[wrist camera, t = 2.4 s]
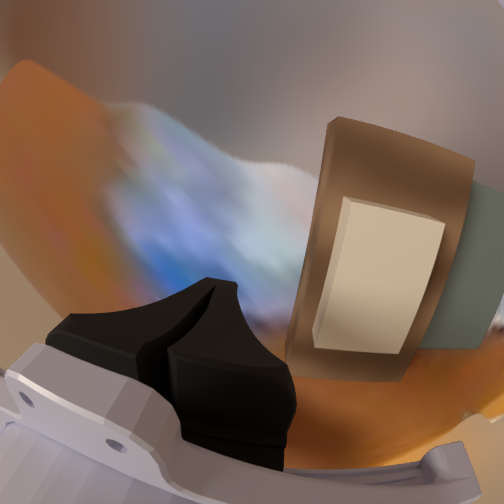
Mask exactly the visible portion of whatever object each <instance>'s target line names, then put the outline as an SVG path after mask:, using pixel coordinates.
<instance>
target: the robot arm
mask: <svg viewBox="0 0 504 504" xmlns="http://www.w3.org/2000/svg"><path fill="white" fill-rule="evenodd" d="M237 287H238V285H237V283H236V282H232V281H226V280H220V279H214V278H209V277H206V278H204V279H202V280H200V281H198V282H196V283H195V284H193V285H191V286H189V287H187V288H186V289H184V290H182V291H180V292H178V293H176V294H173V295H171V296H169V297H167V298H165V299H162V300H160V301H157V302H154V303H151V304H148V305H145V306H141V307H137V308H132V309H128V310H123V311H117V312H109V313H96V314H73V313H71V314H70V315H68V316H67V317H66V318H65V319H64V320H63V321H62V322H61V323H60V324H58V325H57V326H56V327H55V328H54V329H53V330H52V331H51V332H50V333H49V334H48V336H47V338H46V344H45V345H43V344H38V343H34V344H33V345H32V346H31V347H30V348H29V349H28V350H27V351H26V352H25V353H24V354H23V355H22V356H21V357H20V358H19V359H18V360H17V361H16V362H15V363H14V364H13V365H12V366H11V367H10V368H9V369H8V370H7V371H5V370H3V369H2V368H0V504H472V503H473V502H474V501H476V500H477V499H479V498H480V497H481V496H482V492H481V489H480V486H479V483H478V481H477V478H476V475H475V472H474V470H473V467H472V464H471V462H470V459H469V457H468V454H467V452H466V449H465V447H464V445H463V443H462V441H457V442H453V443H449V444H444V445H440V446H437V447H434V448H433V449H431V450H429V451H428V452H427V453H426V454H425V455H424V456H423V457H422V459H421V460H420V461H416V462H410V463H404V464H398V465H390V466H381V467H370V468H357V469H291V468H284V448H285V447H286V444H287V432H288V430H289V427H290V425H291V422H292V420H293V418H294V415H295V412H296V406H297V401H296V393H295V388H294V384H293V380H292V377H291V373H290V370H289V368H288V365H287V364H286V363H285V362H283V361H282V360H280V359H279V358H277V357H276V356H275V355H273V354H272V353H271V352H270V351H268V350H267V349H266V348H265V347H264V346H263V345H262V344H261V343H260V341H259V340H258V339H257V338H256V337H255V335H254V334H253V332H252V331H251V329H250V328H249V326H248V324H247V322H246V320H245V318H244V316H243V314H242V311H241V308H240V305H239V301H238V297H237Z"/></svg>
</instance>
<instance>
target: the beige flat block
mask: <svg viewBox="0 0 504 504" xmlns="http://www.w3.org/2000/svg"><path fill="white" fill-rule="evenodd" d="M444 227H445V223H443V222H441V221H439V220H437V219H435V218H433V217H431V216H428V215H424V214H420V213H416V212H412V211H408V210H404V209H400V208H396V207H392V206H387V205H383V204H379V203H374V202H370V201H365V200H360V199H355V198H351V197H346V196H343V202H342V207H341V212H340V217H339V222H338V227H337V232H336V236H335V241H334V245H333V250H332V254H331V259H330V263H329V267H328V271H327V275H326V279H325V283H324V287H323V291H322V295H321V299H320V303H319V307H318V310H317V314H316V317H315V321H314V325H313V328H312V333H313V340H314V347H315V348H324V349H334V350H345V351H357V352H372V353H390V354H399V351H400V349H401V347H402V345H403V343H404V341H405V339H406V336H407V334H408V332H409V330H410V327H411V325H412V323H413V320H414V318H415V315H416V313H417V310H418V308H419V305H420V303H421V300H422V297H423V295H424V292H425V289H426V286H427V284H428V281H429V278H430V275H431V272H432V269H433V266H434V262H435V259H436V256H437V253H438V249H439V246H440V242H441V238H442V235H443V231H444Z"/></svg>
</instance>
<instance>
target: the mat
mask: <svg viewBox="0 0 504 504" xmlns="http://www.w3.org/2000/svg"><path fill="white" fill-rule="evenodd" d="M503 294H504V194H503V193H500V192H498V191H496V190H494V189H491V188H489V187H487V186H485V185H482V184H480V183H477V182H475V181H473V180H472V185H471V191H470V196H469V201H468V206H467V210H466V215H465V219H464V223H463V227H462V231H461V235H460V238H459V242H458V246H457V249H456V252H455V256H454V259H453V262H452V265H451V268H450V271H449V274H448V277H447V280H446V283H445V286H444V288H443V291H442V294H441V296H440V299H439V302H438V304H437V307H436V309H435V311H434V314H433V316H432V319H431V321H430V323H429V325H428V328H427V330H426V332H425V334H424V336H423V339H422V341H421V343H420V345H419V347H418V348H427V349H478V348H479V346H480V344H481V342H482V340H483V338H484V336H485V334H486V332H487V330H488V328H489V326H490V324H491V322H492V319H493V317H494V315H495V313H496V310H497V308H498V306H499V303H500V301H501V299H502V296H503Z"/></svg>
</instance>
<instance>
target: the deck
mask: <svg viewBox="0 0 504 504" xmlns="http://www.w3.org/2000/svg"><path fill="white" fill-rule="evenodd" d="M474 166H475V161H474V160H472V159H470V158H467V157H465V156H463V155H460V154H458V153H456V152H453V151H451V150H448V149H445V148H443V147H440V146H438V145H435V144H432V143H430V142H427V141H424V140H421V139H418V138H415V137H412V136H409V135H406V134H403V133H400V132H397V131H393V130H390V129H386V128H383V127H380V126H376V125H372V124H368V123H365V122H361V121H357V120H353V119H348V118H344V117H337V118H335V119H334V120H332V121H331V122H329V123H328V124H327V130H326V138H325V145H324V151H323V159H322V164H321V171H320V177H319V183H318V189H317V195H316V200H315V206H314V212H313V217H312V223H311V228H310V233H309V238H308V243H307V248H306V253H305V258H304V263H303V268H302V273H301V278H300V282H299V287H298V291H297V296H296V300H295V305H294V309H293V313H292V318H291V322H290V326H289V330H288V334H287V338H286V343H285V363H286V364H287V365H288V368H289V370H290V373H291V376H298V377H308V378H319V379H331V380H347V381H372V382H400V381H401V379H402V377H403V376H404V374H405V372H406V370H407V368H408V366H409V365H410V363H411V361H412V359H413V357H414V355H415V353H416V351H417V349H418V347H419V345H420V343H421V341H422V339H423V336H424V334H425V332H426V330H427V328H428V325H429V323H430V321H431V319H432V316H433V314H434V311H435V309H436V307H437V304H438V302H439V299H440V296H441V294H442V291H443V288H444V286H445V283H446V280H447V277H448V274H449V271H450V268H451V265H452V262H453V259H454V256H455V252H456V249H457V246H458V242H459V238H460V235H461V231H462V227H463V223H464V219H465V215H466V210H467V206H468V201H469V196H470V191H471V185H472V179H473V172H474ZM343 196H346V197H351V198H355V199H360V200H365V201H370V202H374V203H379V204H383V205H387V206H392V207H396V208H400V209H404V210H408V211H412V212H416V213H420V214H424V215H428V216H431V217H433V218H435V219H437V220H439V221H441V222H443V223H445V227H444V231H443V235H442V238H441V242H440V246H439V249H438V253H437V256H436V259H435V262H434V266H433V269H432V272H431V275H430V278H429V281H428V284H427V286H426V289H425V292H424V295H423V297H422V300H421V303H420V305H419V308H418V310H417V313H416V315H415V318H414V320H413V323H412V325H411V327H410V330H409V332H408V334H407V336H406V339H405V341H404V343H403V345H402V347H401V349H400V351H399V354H390V353H372V352H357V351H345V350H334V349H324V348H315V347H314V340H313V333H312V328H313V325H314V321H315V317H316V314H317V310H318V307H319V303H320V299H321V295H322V291H323V287H324V283H325V279H326V275H327V271H328V267H329V263H330V259H331V254H332V250H333V245H334V241H335V236H336V232H337V227H338V222H339V217H340V212H341V207H342V202H343Z"/></svg>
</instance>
